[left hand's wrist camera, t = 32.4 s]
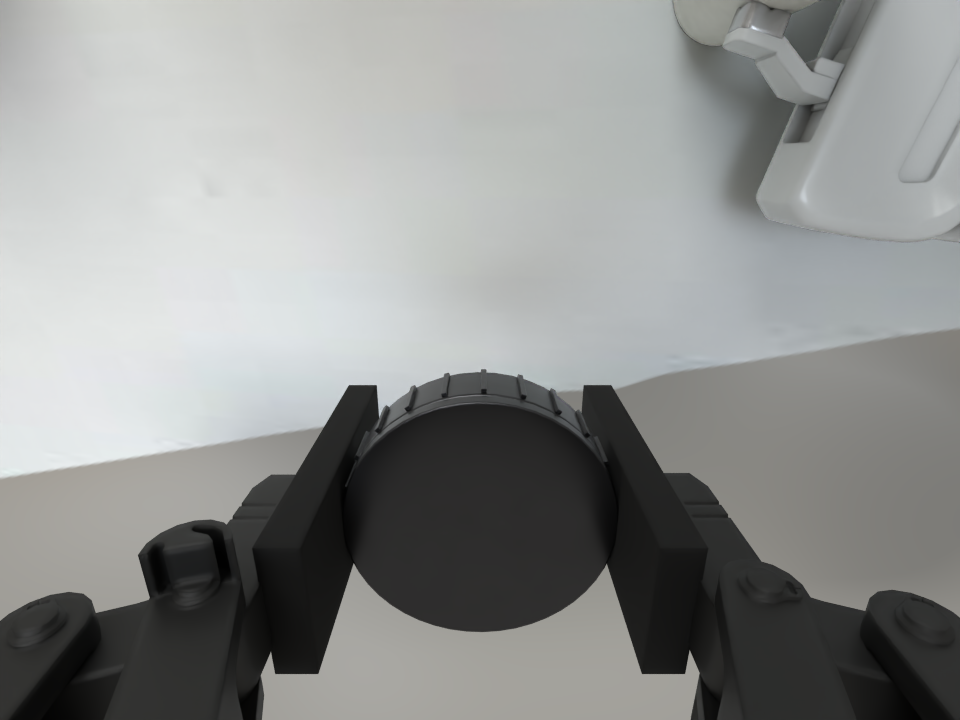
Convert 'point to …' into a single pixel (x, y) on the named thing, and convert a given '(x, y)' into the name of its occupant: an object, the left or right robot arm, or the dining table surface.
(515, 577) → the lid
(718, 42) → the jar
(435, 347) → the dining table surface
